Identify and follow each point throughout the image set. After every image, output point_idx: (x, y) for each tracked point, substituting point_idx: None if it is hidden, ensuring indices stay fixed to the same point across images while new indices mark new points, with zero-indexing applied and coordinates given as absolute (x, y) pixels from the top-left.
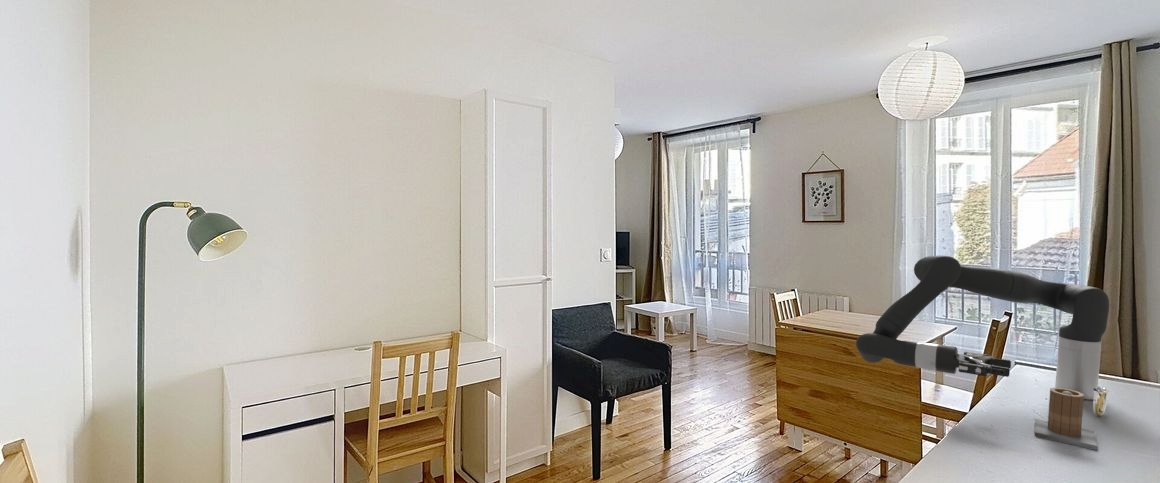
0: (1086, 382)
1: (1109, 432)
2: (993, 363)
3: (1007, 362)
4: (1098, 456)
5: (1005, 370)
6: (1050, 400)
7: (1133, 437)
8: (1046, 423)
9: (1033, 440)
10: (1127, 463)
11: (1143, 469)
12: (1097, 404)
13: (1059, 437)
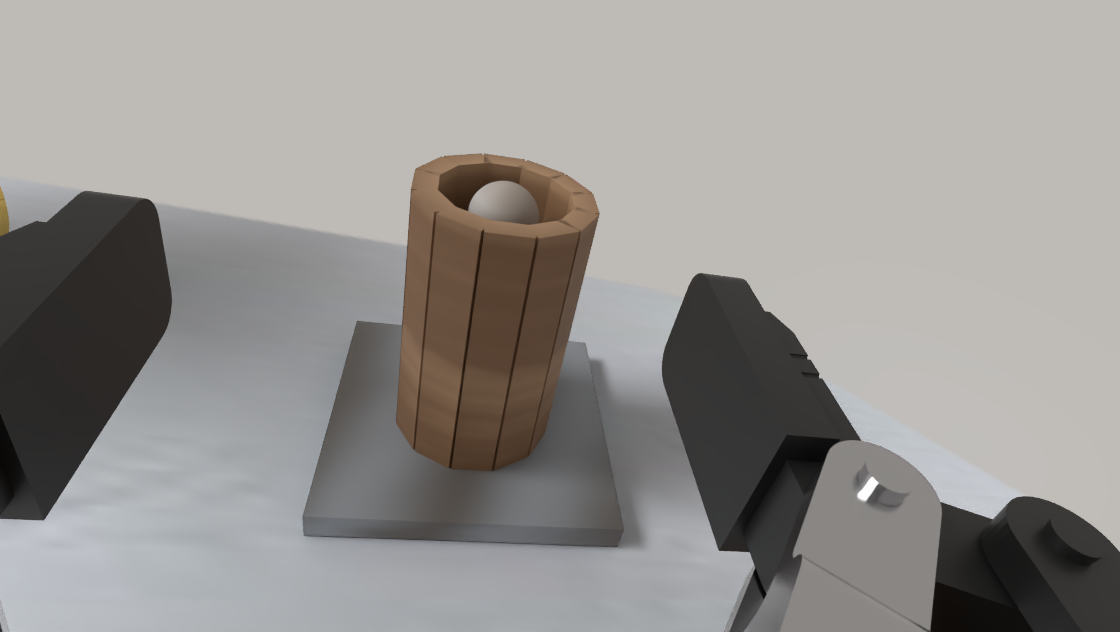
0: None
1: (265, 292)
2: (28, 465)
3: (140, 247)
4: (655, 366)
5: (775, 323)
6: (529, 309)
7: (286, 251)
8: (373, 468)
9: (700, 554)
10: (642, 316)
11: (658, 297)
12: (1, 211)
13: (603, 438)
